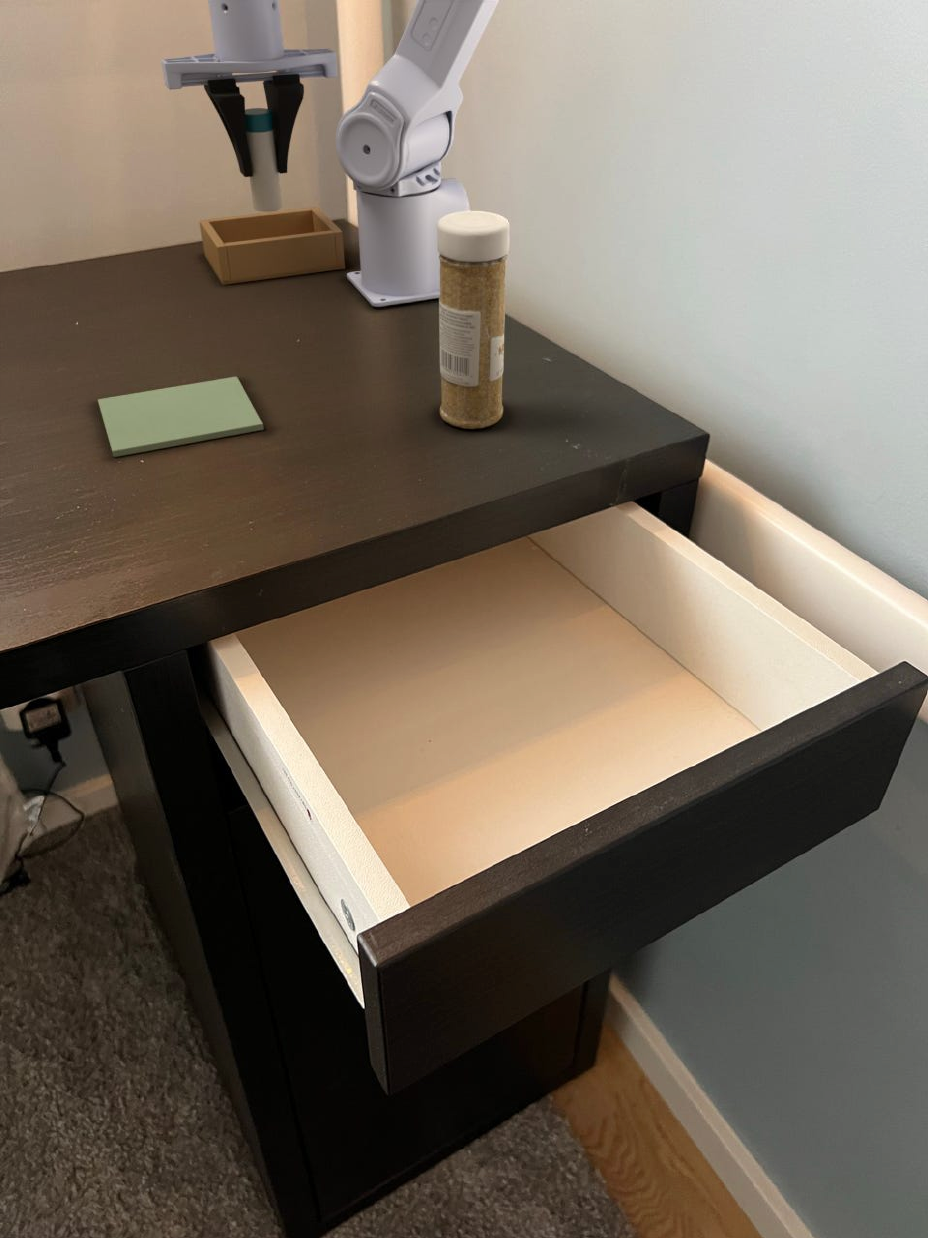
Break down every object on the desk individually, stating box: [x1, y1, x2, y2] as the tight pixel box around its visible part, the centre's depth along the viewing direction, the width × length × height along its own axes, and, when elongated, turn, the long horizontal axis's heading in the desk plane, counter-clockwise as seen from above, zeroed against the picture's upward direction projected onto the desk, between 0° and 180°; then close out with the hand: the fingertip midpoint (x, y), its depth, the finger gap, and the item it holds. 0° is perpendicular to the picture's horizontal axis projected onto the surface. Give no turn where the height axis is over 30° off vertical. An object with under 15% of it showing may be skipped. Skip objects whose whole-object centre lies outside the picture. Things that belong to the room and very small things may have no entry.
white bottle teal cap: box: [245, 107, 283, 213], centre depth 86 cm, size 3×3×8 cm
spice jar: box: [437, 210, 511, 430], centre depth 64 cm, size 5×5×13 cm
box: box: [198, 206, 346, 286], centre depth 91 cm, size 12×8×3 cm
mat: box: [97, 376, 264, 458], centre depth 67 cm, size 10×8×1 cm
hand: (264, 172), depth 87 cm, fingers closed on white bottle teal cap, 2 cm apart
